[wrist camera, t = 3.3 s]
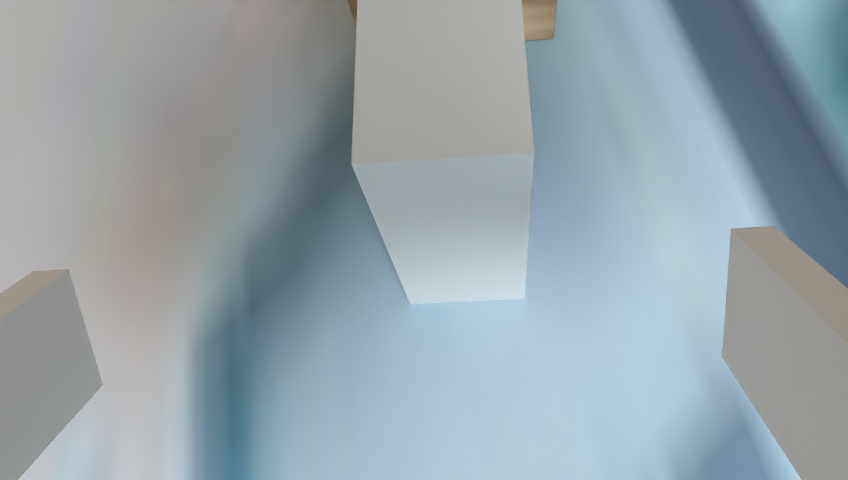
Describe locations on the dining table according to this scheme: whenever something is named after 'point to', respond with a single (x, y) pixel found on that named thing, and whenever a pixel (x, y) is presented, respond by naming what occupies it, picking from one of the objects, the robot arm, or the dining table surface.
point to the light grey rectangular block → (446, 143)
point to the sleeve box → (535, 18)
